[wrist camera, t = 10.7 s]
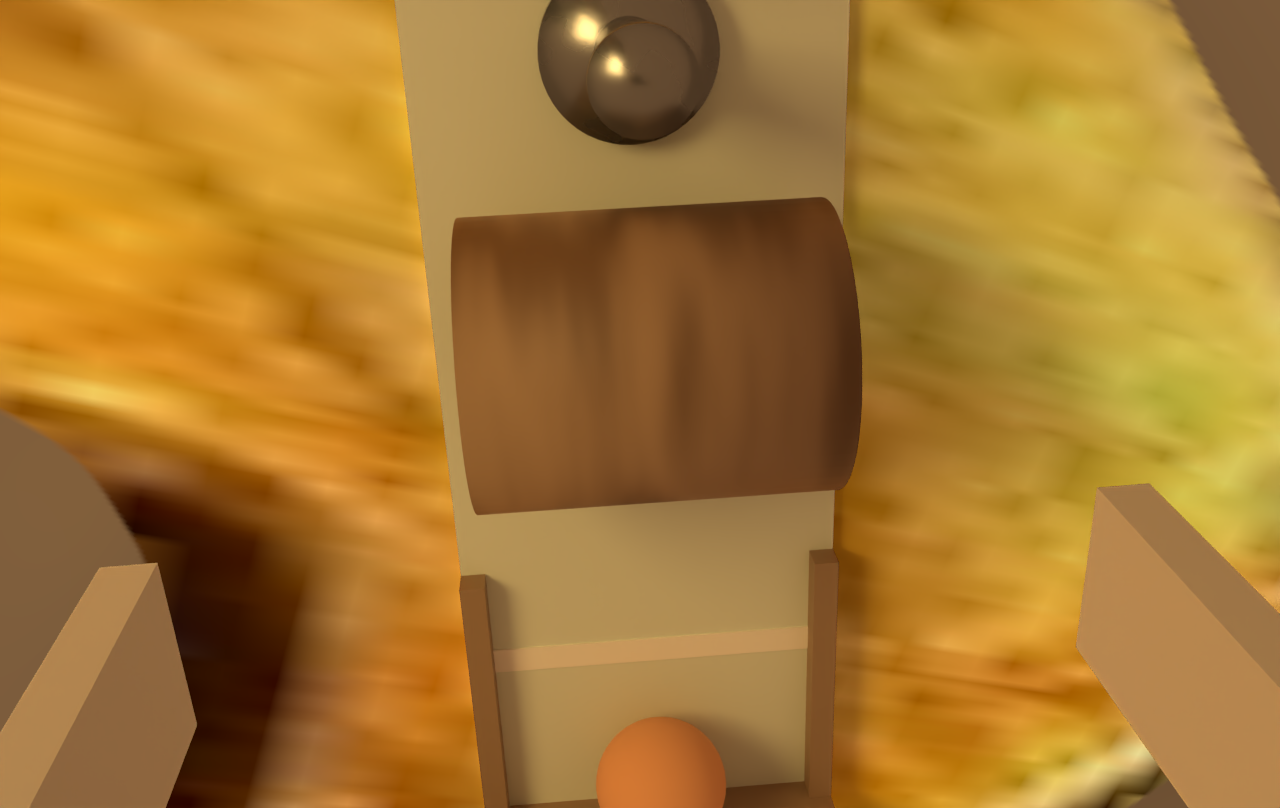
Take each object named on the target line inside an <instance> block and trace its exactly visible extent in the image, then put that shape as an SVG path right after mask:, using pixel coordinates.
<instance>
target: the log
mask: <svg viewBox="0 0 1280 808" xmlns="http://www.w3.org/2000/svg"><path fill="white" fill-rule="evenodd" d="M451 313H452V336H453V354H454V369H455V383H456V395H457V406H458V416H459V426H460V435H461V444H462V452H463V459H464V466H465V472H466V479H467V484H468V490H469V494H470V499H471V503H472V506H473V509H474V512H475V514H476V515H489V514H503V513H517V512H531V511H545V510H559V509H574V508H588V507H602V506H616V505H630V504H645V503H659V502H673V501H687V500H701V499H715V498H730V497H744V496H758V495H772V494H786V493H801V492H815V491H829V490H840V489H842V488H843V487H844V486H845V485H846V484H847V482H848V480H849V478H850V476H851V473H852V470H853V467H854V463H855V458H856V454H857V448H858V441H859V433H860V423H861V408H862V350H861V333H860V319H859V310H858V301H857V293H856V286H855V279H854V273H853V268H852V262H851V257H850V253H849V248H848V244H847V240H846V237H845V233H844V230H843V227H842V224H841V221H840V219H839V216H838V214H837V212H836V210H835V208H834V206H833V205H832V204H831V202H830V201H829V200H828V199H826V198H824V197H810V198H792V199H775V200H757V201H740V202H722V203H705V204H687V205H670V206H652V207H635V208H617V209H600V210H582V211H565V212H547V213H530V214H512V215H495V216H477V217H460V218H456V219H455V221H454V225H453V232H452V243H451Z"/></svg>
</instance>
